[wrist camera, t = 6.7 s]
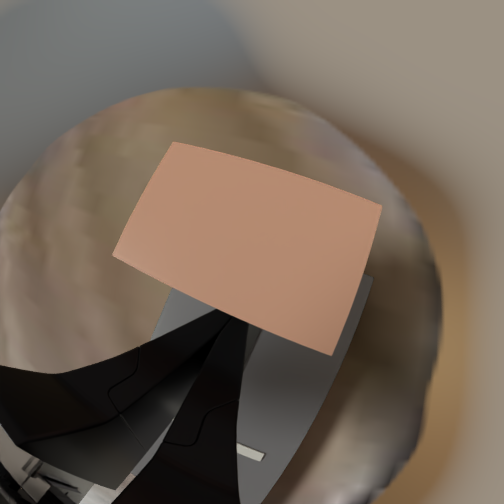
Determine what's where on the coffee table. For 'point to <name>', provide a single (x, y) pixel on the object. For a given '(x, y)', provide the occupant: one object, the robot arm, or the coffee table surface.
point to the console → (269, 392)
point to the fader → (253, 242)
